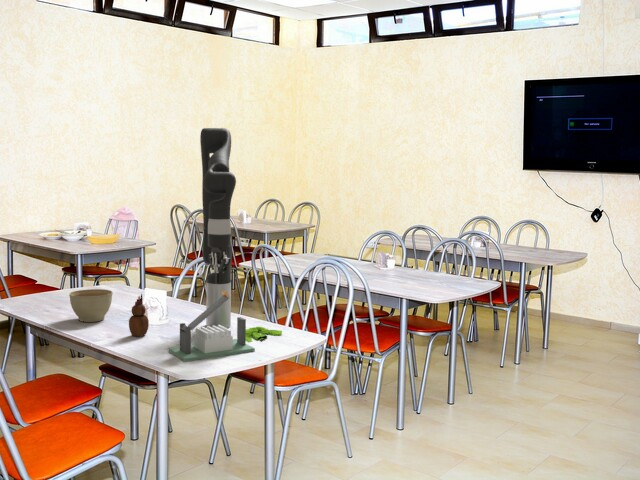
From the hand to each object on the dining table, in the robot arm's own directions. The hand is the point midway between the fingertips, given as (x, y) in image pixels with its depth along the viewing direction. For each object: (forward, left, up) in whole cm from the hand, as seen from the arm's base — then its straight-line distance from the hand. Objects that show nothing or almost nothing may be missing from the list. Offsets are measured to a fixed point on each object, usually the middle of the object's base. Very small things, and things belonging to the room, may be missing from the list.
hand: (218, 283), depth 236 cm
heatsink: (0, -3, -23) cm, 23 cm away
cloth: (-10, +22, -24) cm, 34 cm away
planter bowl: (-63, -25, -23) cm, 71 cm away
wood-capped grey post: (0, -4, -10) cm, 11 cm away
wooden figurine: (-31, -17, -23) cm, 42 cm away
